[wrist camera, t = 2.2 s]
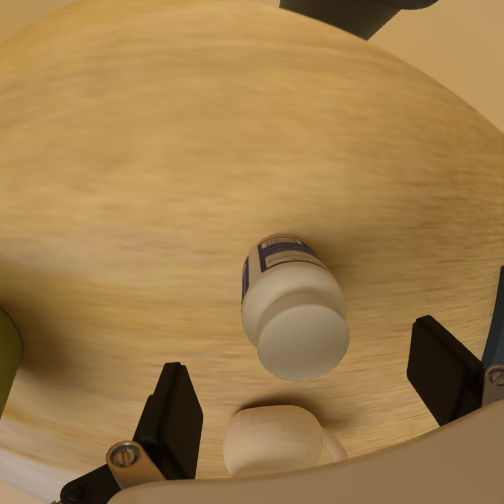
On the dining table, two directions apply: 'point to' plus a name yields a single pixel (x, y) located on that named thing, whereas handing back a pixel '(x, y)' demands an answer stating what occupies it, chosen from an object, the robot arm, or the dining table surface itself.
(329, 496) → the robot arm
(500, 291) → the foam pad
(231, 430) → the cat figurine
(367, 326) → the dining table surface
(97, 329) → the dining table surface
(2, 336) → the flower pot
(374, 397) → the dining table surface
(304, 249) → the pill bottle
